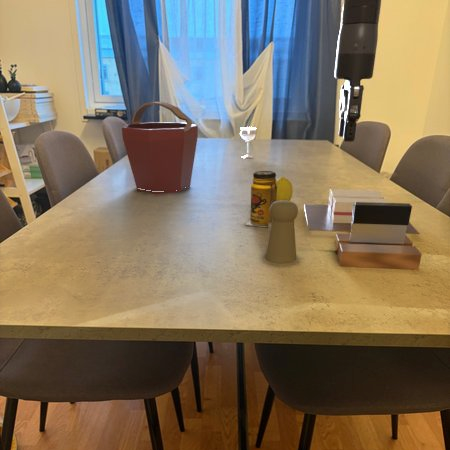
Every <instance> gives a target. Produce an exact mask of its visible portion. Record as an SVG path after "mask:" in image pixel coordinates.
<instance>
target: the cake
mask: <svg viewBox="0 0 450 450" xmlns="http://www.w3.org/2000/svg"><path fill="white" fill-rule="evenodd" d="M333 198H366V199H385V196H384V195H383V194H382V193H381V191H380V190H378V189H377V190H375V189H374V190H373V189H370V190H369V189H337V188H336V189H333V188H330V189H329V194H328V204H327V205H328V210H329V213H330V216H332V207H333Z"/></svg>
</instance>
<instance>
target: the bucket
mask: <svg viewBox="0 0 450 450" xmlns="http://www.w3.org/2000/svg"><path fill="white" fill-rule="evenodd" d="M153 105H157V106H159V107H162V108H164V109H167V110H169V111H170V112H171V113H172V114H173V115H174V116H175V117H176V118H177V119H179V120H181V122H179V121H175V122H174V121H172V122H171V121H165V122H164V121H149V122H141V120H142V117H143V116H144V113H145V112H146V111H147V110H148V109H149V108H150V107H152V106H153ZM182 121H185V122H182ZM198 127H199V126H198V124H195V123H194V124H193V121H192V119H191V118H190V117H189V116H188V115H187V114H186V113H185V112H183V111H182V110H181V109H180V107H178V106H176V105H173V104H170V103H169V102H168V103H167V102H164V101H150V102H148V101H147V102H144V103H143V104H141V105H140V106H139V107H138V108H137V109H136V110H135V111H134V114H133V116H132V119H131V123H126V124H124V125H122V126H121V134H122V141H123V144H124V148H125V151H126V155H127V158H128V162H129V165H130V169H131V172H132V176H133V179H134V183H135V186H136V191H137V192H140V193H147V194H153V195H162V194H174V193H176V194H177V193H181V192H184V191H185V190H188V189H189V188H191V183H192V176H193V170H194V164H195V156H196V150H197V144H198V137H199V128H198ZM185 187H186V188H185ZM137 188H141V189H145V190H140V189H137ZM146 190H151V191H146ZM176 190H177V191H176ZM152 191H164V192H152Z"/></svg>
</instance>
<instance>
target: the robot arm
mask: <svg viewBox="0 0 450 450" xmlns="http://www.w3.org/2000/svg"><path fill="white" fill-rule="evenodd" d="M381 8H382V0H343V3H342V11H341V19H340V20H341V21H340V28H339V34H338V38H337V46H336V57H335V65H334V75H333V76H334V79H336V80H344V81H345V82H344V84H342V85H341V89H340V94H339V95H340V99H339V109H338V114H339V115H338V116H339V118H340V119H339V127H338V128H339V129H338V137H340V138H342V140H343V141H344V142H345V143H347V142H349V143H352V142H354V141H355V139H356V130H357V123H358V121H359V120H360V119H361V111H362V102H363V95H364V89H365V87H364V85H363V84H362V85H361V82H362V80H371V79H372V78H373V77H374V69H375V63H376V54H377V48H378V47H377V46H378V40H379V22H380V14H381Z"/></svg>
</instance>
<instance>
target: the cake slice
mask: <svg viewBox="0 0 450 450" xmlns="http://www.w3.org/2000/svg"><path fill="white" fill-rule="evenodd" d="M354 202H375V203H390V202H389V201H388V200H387V199H386V198H384V199H366V198H333V207H332V216H331V218H332V221H333V223H352V213H353V206H354Z"/></svg>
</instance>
